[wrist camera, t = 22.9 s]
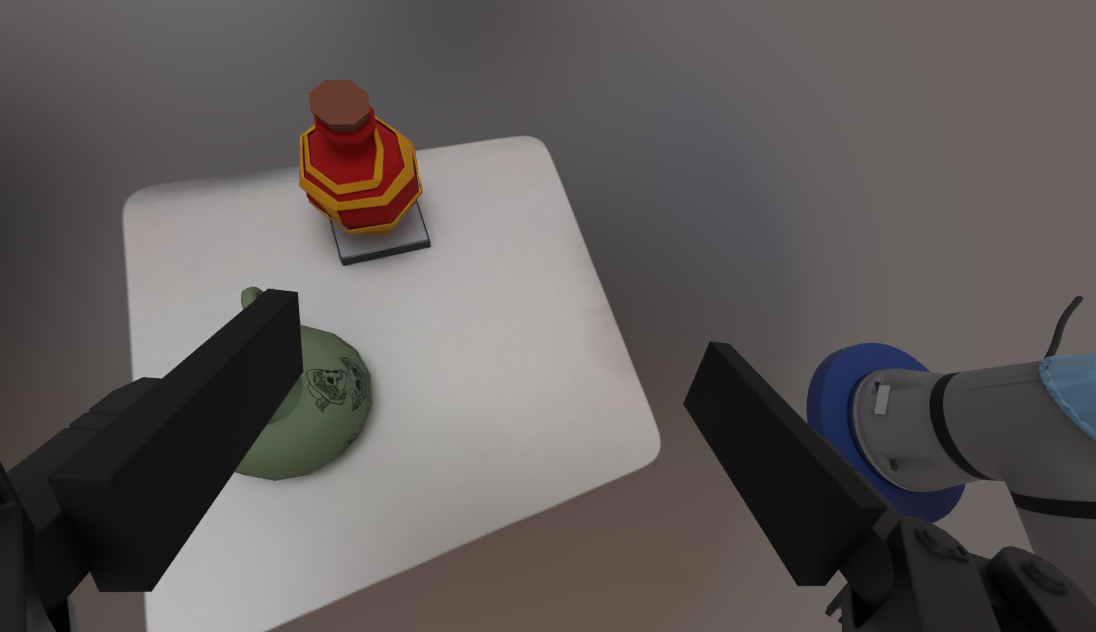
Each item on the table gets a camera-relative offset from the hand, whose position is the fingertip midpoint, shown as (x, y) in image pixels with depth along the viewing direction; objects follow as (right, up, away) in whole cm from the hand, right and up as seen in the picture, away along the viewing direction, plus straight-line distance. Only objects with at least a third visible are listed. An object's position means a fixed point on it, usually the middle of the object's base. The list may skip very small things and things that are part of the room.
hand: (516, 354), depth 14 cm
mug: (-22, -5, +25) cm, 34 cm away
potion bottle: (-17, +12, +30) cm, 37 cm away
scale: (-17, +12, +31) cm, 38 cm away
